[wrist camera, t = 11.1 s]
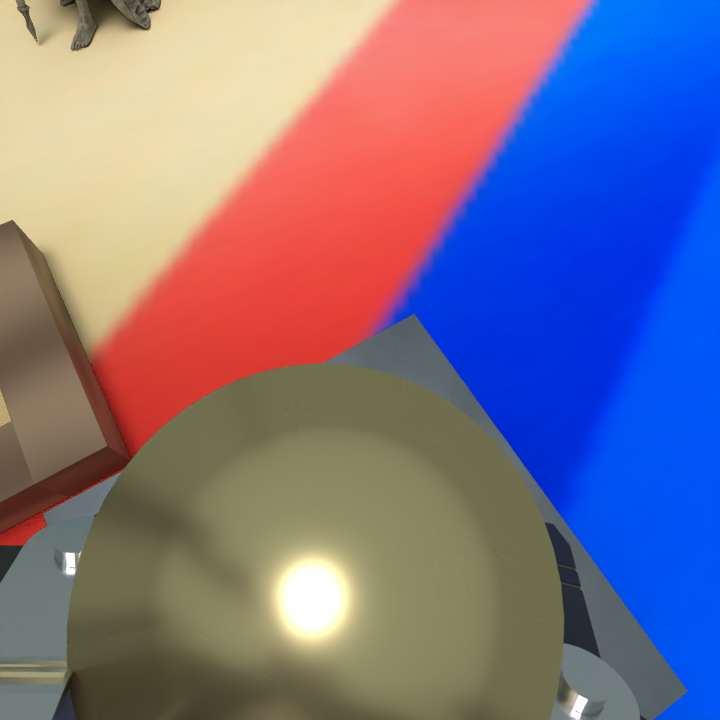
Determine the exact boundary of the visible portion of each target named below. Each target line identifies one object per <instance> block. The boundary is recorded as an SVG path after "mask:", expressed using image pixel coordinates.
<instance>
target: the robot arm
mask: <svg viewBox="0 0 720 720" xmlns="http://www.w3.org/2000/svg"><path fill="white" fill-rule="evenodd" d="M96 515H97V514H96ZM96 515H94V516H84V517H75V518H70V519H65V520H62V521H58V522H56V523H53V524H51V525H49V526H47V527H45V528H43V529H41V530H40V531H38V532H37V533H35V534H34V535H33V536H32V537H31V538H30V539H29V540H28V541H27V542H26V543H25V545H22V546H5V545H0V720H76V717H75V713H74V709H73V705H72V701H71V694H70V687H71V682H72V677H73V672H74V671H71V670H68V669H67V621H68V613H69V605H70V597H71V590H72V586H73V582H74V578H75V574H76V570H77V566H78V562H79V557H80V555H81V552H82V549H83V546H84V544H85V541H86V538H87V536H88V533H89V530H90V528H91V525H92V523H93V521H94V519H95V517H96ZM545 525H546V528H547V531H548V534H549V537H550V540H551V543H552V546H553V549H554V553H555V557H556V562H557V567H558V571H559V576H560V581H561V589H562V600H563V611H564V642H563V659H562V665H561V672H560V679H559V685H558V692H557V695H556V699H555V702H554V706H553V709H552V713H551V716H550V720H647V719H645V718H644V717H643V716H641V715H640V712H639V708H638V704H637V702H636V699H635V697H634V695H633V693H632V691H631V690H630V688H629V687H628V685H627V684H626V683H625V681H624V680H623V679H622V677H621V676H620V675H619V674H618V673H617V672H616V671H615V670H614V669H613V668H612V667H610V666H609V665H608V664H607V663H606V662H604V661H603V660H601V657H600V653H599V650H598V646H597V642H596V639H595V635H594V631H593V628H592V624H591V620H590V617H589V613H588V609H587V606H586V602H585V598H584V595H583V591H582V590H580V588H581V584H580V580H579V576H578V573H577V571H575V569H576V565H575V562H574V558H573V554H572V551H571V547H570V545H569V543H568V542H567V541H566V540H565V538H564V537H563V536H562V534H561V533H560V532H559V531H558V529H557V528H556V527H555V525H554V524H551V523H547V522H545Z"/></svg>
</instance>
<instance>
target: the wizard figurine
mask: <svg viewBox="0 0 720 720" xmlns="http://www.w3.org/2000/svg"><path fill="white" fill-rule="evenodd" d="M72 1H73V0H61V1H60V2H61V3H60V4H61V5H65V4H67V3H70V2H72ZM75 1H76V4H77V8H78V13H79V23H78V28H77V31H76V34H75V36H74V38H73V42H72V44H71V49H74V48H75V49H77V47H78V48H80V47H81V46H82V47H83V46H87V45H88V43H89V42H90V40H91V38H92V35H93V33H94V31H95V29H96V27H97V25H96V23H95V21H94V18H93V17H92V15H91V13H90V11H89V7H88V4H87V0H75ZM111 1H112V2H113V4H114V5H115V6H116V7H117V8H118V9H119V10H120V11H121V13H122V14H124V15H125V16H126V17H127V18H129V19H130V20H132V21H133V22H135V23H137V24H139V25H141V26H142V27H144V28H148V27H149V16H148V14H147V12H146V10H148V9H149V8H150V9H154V8H155V7H156V8H158V7H159V3H160V0H111ZM16 2H17V5H18V7H17V9H18V10H19V11H20V12H21V13H22V14H23V16H24V18H25V20H26V23H27V28H28V30H29V31H30V33H31V34H32V35H33V37H34V39H35V40H36V42H37V37H36V33H35V28H34V26H33V23H32V21H31V19H30V16H29V9H30V7H29V6H27V5H26V4H25V1H24V0H16Z"/></svg>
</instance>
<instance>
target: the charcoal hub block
mask: <svg viewBox="0 0 720 720" xmlns="http://www.w3.org/2000/svg"><path fill="white" fill-rule="evenodd" d="M323 364H345V365H353V366H359V367H365V368H371V369H375V370H379V371H382V372H386V373H389V374H392V375H396V376H399V377H402V378H404V379H406V380H409V381H411V382H413V383H416V384H418V385H420V386H423V387H425V388H427V389H429V390H430V391H432V392H434V393H435V394H437V395H439V396H441V397H442V398H444V399H446V400H447V401H449V402H451V403H452V404H453V405H455V406H456V407H457V408H458V409H460V410H461V411H462V412H464V413H465V414H466V415H468V416H469V417H470V418H472V419H473V420H474V421H475V422H476V423H477V424H478V425H479V426H480V427H481V428H482V429H483V430H484V431H485V432H486V433H487V434H488V435H489V436H490V437H492V438H493V439H494V441H495V442H496V443H497V444H498V446H499V447H500V448H501V449H502V450H503V452H504V453H505V454H506V455H507V457H508V458H509V459H510V460H511V462H512V463H513V464H514V466H515V467H516V469H517V471H518V472H519V474H520V475H521V477H522V479H523V480H524V482H525V483H526V485H527V486H528V488H529V490H530V492H531V494H532V496H533V498H534V500H535V502H536V504H537V506H538V508H539V511H540V513H541V515H542V517H543V519H544V522H547V523H551V524H554V525H555V527H556V528H557V529H558V531H559V532H560V533H561V534H562V536H563V537H564V538H565V540H566V541H567V542H568V543H569V545H570V547H571V551H572V554H573V558H574V562H575V565H576V569H575V571H577V573H578V576H579V580H580V584H581V588H580V590H582V591H583V595H584V598H585V602H586V606H587V609H588V613H589V617H590V620H591V624H592V628H593V631H594V635H595V639H596V642H597V646H598V650H599V653H600V657H601V660H603V661H604V662H606V663H607V664H608V665H609V666H610V667H612V668H613V669H614V670H615V671H616V672H617V673H618V674H619V675H620V676H621V677H622V679H623V680H624V681H625V683H626V684H627V685H628V687H629V688H630V690H631V691H632V693H633V695H634V697H635V699H636V702H637V704H638V708H639V712H640V715H641V716H643V717H644V718H645V719H647V720H653V719H654V718H656V717H657V716H658V715H659V714H661V713H662V712H663V711H664V710H665V709H667V708H668V707H669V706H670V705H672V704H673V703H674V702H675V701H677V700H678V699H679V698H680V697H682V696H683V695H684V694H685V693H687V692H688V691H687V690H686V688H685V687H684V686H683V684H682V683H681V681H680V680H679V679H678V677H677V676H676V675H675V673H674V672H673V670H672V669H671V668H670V666H669V665H668V663H667V662H666V661H665V659H664V658H663V657H662V655H661V654H660V652H659V651H658V650H657V648H656V647H655V646H654V644H653V643H652V641H651V640H650V639H649V637H648V636H647V635H646V633H645V632H644V630H643V629H642V628H641V626H640V625H639V623H638V622H637V621H636V619H635V618H634V617H633V615H632V614H631V612H630V611H629V610H628V608H627V607H626V606H625V604H624V603H623V601H622V600H621V599H620V597H619V596H618V594H617V593H616V592H615V590H614V589H613V588H612V586H611V585H610V583H609V582H608V581H607V579H606V578H605V577H604V575H603V574H602V572H601V571H600V570H599V568H598V567H597V565H596V564H595V563H594V561H593V560H592V559H591V557H590V556H589V554H588V553H587V552H586V550H585V549H584V548H583V546H582V545H581V543H580V542H579V541H578V539H577V538H576V536H575V535H574V534H573V532H572V531H571V530H570V528H569V527H568V525H567V524H566V523H565V521H564V520H563V519H562V517H561V516H560V514H559V513H558V512H557V510H556V509H555V508H554V506H553V505H552V503H551V502H550V501H549V499H548V498H547V496H546V495H545V494H544V492H543V491H542V490H541V488H540V487H539V485H538V484H537V483H536V481H535V480H534V479H533V477H532V476H531V474H530V473H529V472H528V470H527V469H526V467H525V466H524V465H523V463H522V462H521V461H520V459H519V458H518V456H517V455H516V454H515V452H514V451H513V450H512V448H511V447H510V445H509V444H508V443H507V441H506V440H505V438H504V437H503V436H502V434H501V433H500V432H499V430H498V429H497V427H496V426H495V425H494V423H493V422H492V421H491V419H490V418H489V416H488V415H487V414H486V412H485V411H484V409H483V408H482V407H481V405H480V404H479V403H478V401H477V400H476V398H475V397H474V396H473V394H472V393H471V392H470V390H469V389H468V387H467V386H466V385H465V383H464V382H463V381H462V379H461V378H460V376H459V375H458V374H457V372H456V371H455V369H454V368H453V367H452V365H451V364H450V363H449V361H448V360H447V358H446V357H445V356H444V354H443V353H442V352H441V350H440V349H439V347H438V346H437V345H436V343H435V342H434V340H433V339H432V338H431V336H430V335H429V334H428V332H427V331H426V329H425V328H424V327H423V325H422V324H421V323H420V321H419V320H418V318H417V317H416V316H415V314H413V315H412V316H410V317H408V318H406V319H404V320H402V321H400V322H399V323H397V324H395V325H393V326H391V327H389V328H387V329H386V330H384V331H382V332H380V333H378V334H376V335H374V336H373V337H371V338H369V339H367V340H365V341H363V342H361V343H360V344H358V345H356V346H354V347H352V348H350V349H348V350H346V351H345V352H343V353H341V354H339V355H337V356H335V357H333V358H332V359H330V360H328V361H326V362H324V363H323ZM121 473H122V471H121V472H120V473H118V474H116V475H114V476H112V477H110V478H108V479H107V480H105V481H103V482H101V483H99V484H97V485H95V486H94V487H92V488H90V489H88V490H86V491H84V492H82V493H81V494H79V495H77V496H75V497H73V498H71V499H69V500H68V501H66V502H64V503H62V504H60V505H58V506H56V507H54V508H53V509H51V510H49V511H47V512H45V513H43V516H44V518H45V521H46V524H47V526H49V525H51V524H53V523H56V522H58V521H62V520H65V519H70V518H75V517H84V516H94V515H96V514H97V513H98V511H99V509H100V507H101V505H102V503H103V501H104V499H105V497H106V495H107V494H108V492H109V491H110V489H111V488H112V486H113V485H114V483H115V482H116V480H117V479H118V477H119V476H120V474H121Z"/></svg>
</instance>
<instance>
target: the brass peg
mask: <svg viewBox="0 0 720 720" xmlns="http://www.w3.org/2000/svg"><path fill="white" fill-rule="evenodd" d="M563 642H564V611H563V600H562V589H561V581H560V576H559V571H558V567H557V562H556V557H555V553H554V549H553V546H552V543H551V540H550V537H549V534H548V531H547V528H546V525H545V522H544V519H543V517H542V515H541V513H540V511H539V508H538V506H537V504H536V502H535V500H534V498H533V496H532V494H531V492H530V490H529V488H528V486H527V485H526V483H525V482H524V480H523V479H522V477H521V475H520V474H519V472H518V471H517V469H516V467H515V466H514V464H513V463H512V462H511V460H510V459H509V458H508V457H507V455H506V454H505V453H504V452H503V450H502V449H501V448H500V447H499V446H498V444H497V443H496V442H495V441H494V439H493V438H492V437H490V436H489V435H488V434H487V433H486V432H485V431H484V430H483V429H482V428H481V427H480V426H479V425H478V424H477V423H476V422H475V421H474V420H473V419H472V418H470V417H469V416H468V415H466V414H465V413H464V412H462V411H461V410H460V409H458V408H457V407H456V406H455V405H453V404H452V403H451V402H449V401H447V400H446V399H444V398H442V397H441V396H439V395H437V394H435V393H434V392H432V391H430V390H429V389H427V388H425V387H423V386H420V385H418V384H416V383H413V382H411V381H409V380H406V379H404V378H402V377H399V376H396V375H392V374H389V373H386V372H382V371H379V370H375V369H371V368H365V367H359V366H353V365H345V364H323V363H319V364H305V365H293V366H287V367H282V368H277V369H272V370H267V371H264V372H260V373H257V374H254V375H251V376H248V377H245V378H242V379H239V380H237V381H234V382H232V383H230V384H228V385H226V386H223V387H221V388H219V389H217V390H215V391H213V392H211V393H209V394H208V395H206V396H204V397H203V398H201V399H199V400H198V401H196V402H194V403H193V404H191V405H189V406H188V407H187V408H186V409H184V410H183V411H182V412H180V413H179V414H178V415H176V416H175V417H174V418H172V419H171V420H170V421H169V422H167V423H166V424H165V425H164V426H163V427H162V428H161V429H160V430H159V431H158V432H157V433H156V434H154V435H153V436H152V437H151V438H150V439H149V440H148V441H147V442H146V443H145V444H144V445H143V446H142V448H141V449H140V450H139V451H138V452H137V454H136V455H135V456H134V457H133V458H132V460H131V461H130V462H129V463H128V464H127V466H126V467H125V468H124V469H123V471H122V473H121V474H120V476H119V477H118V479H117V480H116V482H115V483H114V485H113V486H112V488H111V489H110V491H109V492H108V494H107V495H106V497H105V499H104V501H103V503H102V505H101V507H100V509H99V511H98V513H97V515H96V517H95V519H94V521H93V523H92V525H91V528H90V530H89V533H88V536H87V538H86V541H85V544H84V546H83V549H82V552H81V555H80V557H79V562H78V566H77V570H76V574H75V578H74V582H73V586H72V590H71V597H70V605H69V613H68V621H67V669H68V670H71V671H74V672H73V677H72V682H71V687H70V694H71V701H72V705H73V709H74V713H75V717H76V720H550V716H551V713H552V709H553V706H554V702H555V699H556V695H557V692H558V685H559V679H560V672H561V665H562V659H563Z"/></svg>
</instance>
